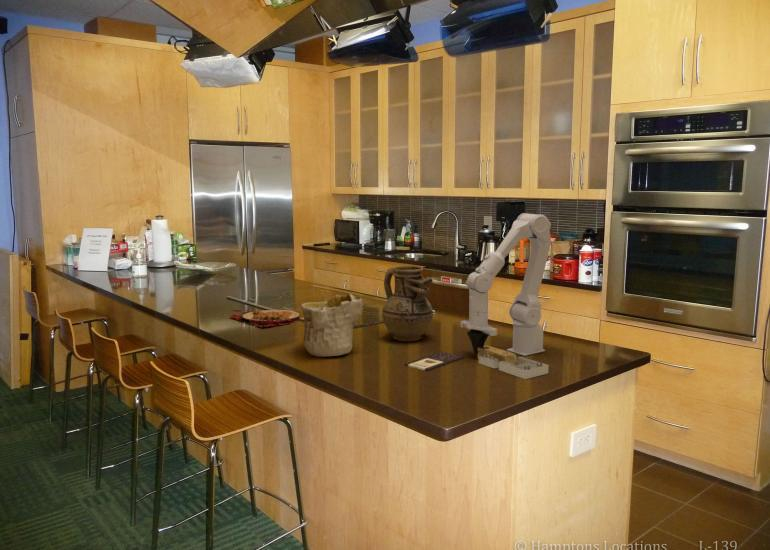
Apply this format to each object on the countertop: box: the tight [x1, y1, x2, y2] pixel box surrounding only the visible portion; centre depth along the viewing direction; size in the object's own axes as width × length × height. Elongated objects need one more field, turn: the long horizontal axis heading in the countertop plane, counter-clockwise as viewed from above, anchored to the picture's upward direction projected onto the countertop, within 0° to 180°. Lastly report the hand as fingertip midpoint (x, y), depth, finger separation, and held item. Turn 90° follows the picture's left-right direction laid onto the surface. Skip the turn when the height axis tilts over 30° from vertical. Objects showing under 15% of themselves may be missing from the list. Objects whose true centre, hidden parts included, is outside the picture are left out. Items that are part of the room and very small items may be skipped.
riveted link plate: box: [477, 345, 516, 367], centre depth 189 cm, size 4×12×4 cm, turn 34°
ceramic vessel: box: [300, 293, 364, 358], centre depth 201 cm, size 21×22×23 cm
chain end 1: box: [478, 349, 517, 369], centre depth 188 cm, size 9×6×3 cm
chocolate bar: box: [404, 351, 465, 372], centre depth 190 cm, size 9×1×18 cm
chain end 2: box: [498, 356, 549, 380], centre depth 179 cm, size 9×10×3 cm
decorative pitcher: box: [381, 265, 434, 342], centre depth 217 cm, size 22×18×25 cm
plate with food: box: [228, 309, 304, 328], centre depth 252 cm, size 25×26×4 cm
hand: (477, 353), depth 195 cm, fingers closed
